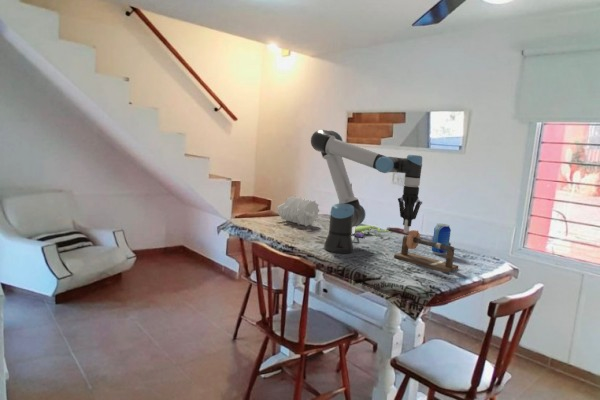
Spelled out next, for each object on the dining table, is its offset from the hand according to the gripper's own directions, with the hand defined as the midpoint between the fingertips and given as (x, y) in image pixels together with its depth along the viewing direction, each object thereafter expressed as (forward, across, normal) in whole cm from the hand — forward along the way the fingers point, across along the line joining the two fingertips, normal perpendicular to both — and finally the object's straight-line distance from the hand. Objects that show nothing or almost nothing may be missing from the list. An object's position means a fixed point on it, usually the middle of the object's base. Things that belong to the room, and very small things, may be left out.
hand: (406, 232), depth 217 cm
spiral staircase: (+13, +85, -7) cm, 86 cm away
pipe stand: (+13, -12, 0) cm, 18 cm away
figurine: (+13, +43, -26) cm, 52 cm away
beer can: (+13, -6, -26) cm, 30 cm away
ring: (+7, -4, 0) cm, 9 cm away
